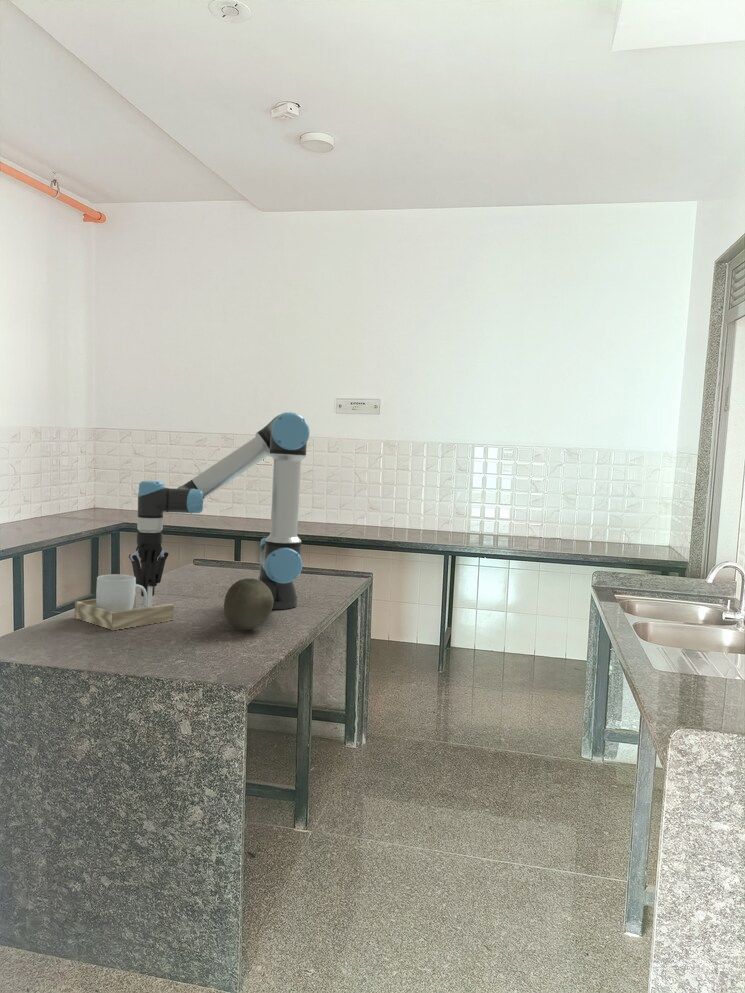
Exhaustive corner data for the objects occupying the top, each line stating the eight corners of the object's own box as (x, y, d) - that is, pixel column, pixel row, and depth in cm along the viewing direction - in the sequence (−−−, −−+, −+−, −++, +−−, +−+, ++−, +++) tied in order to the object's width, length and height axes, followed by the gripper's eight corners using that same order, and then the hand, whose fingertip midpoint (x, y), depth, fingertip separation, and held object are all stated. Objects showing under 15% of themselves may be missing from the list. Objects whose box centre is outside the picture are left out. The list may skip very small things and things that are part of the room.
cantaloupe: (225, 636, 205) (226, 583, 204) (221, 624, 219) (223, 575, 218) (275, 635, 209) (277, 583, 208) (268, 623, 223) (270, 574, 222)
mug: (139, 614, 228) (141, 572, 228) (152, 621, 220) (154, 578, 219) (90, 618, 219) (92, 575, 219) (101, 626, 211) (103, 581, 210)
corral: (173, 620, 222) (173, 604, 221) (113, 631, 206) (113, 613, 206) (133, 608, 235) (134, 593, 235) (74, 618, 219) (75, 601, 219)
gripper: (160, 528, 233) (158, 602, 234) (124, 530, 223) (121, 607, 224) (174, 531, 228) (172, 606, 229) (138, 533, 218) (135, 611, 219)
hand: (147, 606), depth 227 cm, fingers closed
